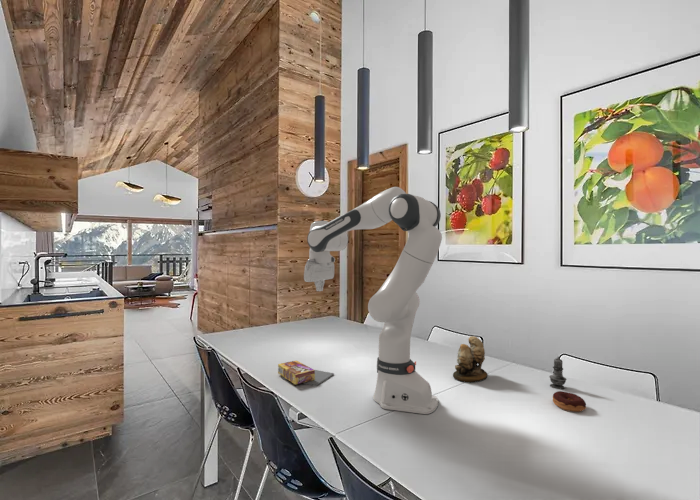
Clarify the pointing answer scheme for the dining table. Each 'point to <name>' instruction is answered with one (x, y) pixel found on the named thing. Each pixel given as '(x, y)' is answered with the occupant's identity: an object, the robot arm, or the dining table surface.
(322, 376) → the mat
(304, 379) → the candy box
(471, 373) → the owl figurine
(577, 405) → the donut
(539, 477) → the dining table surface
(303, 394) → the dining table surface
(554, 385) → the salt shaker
